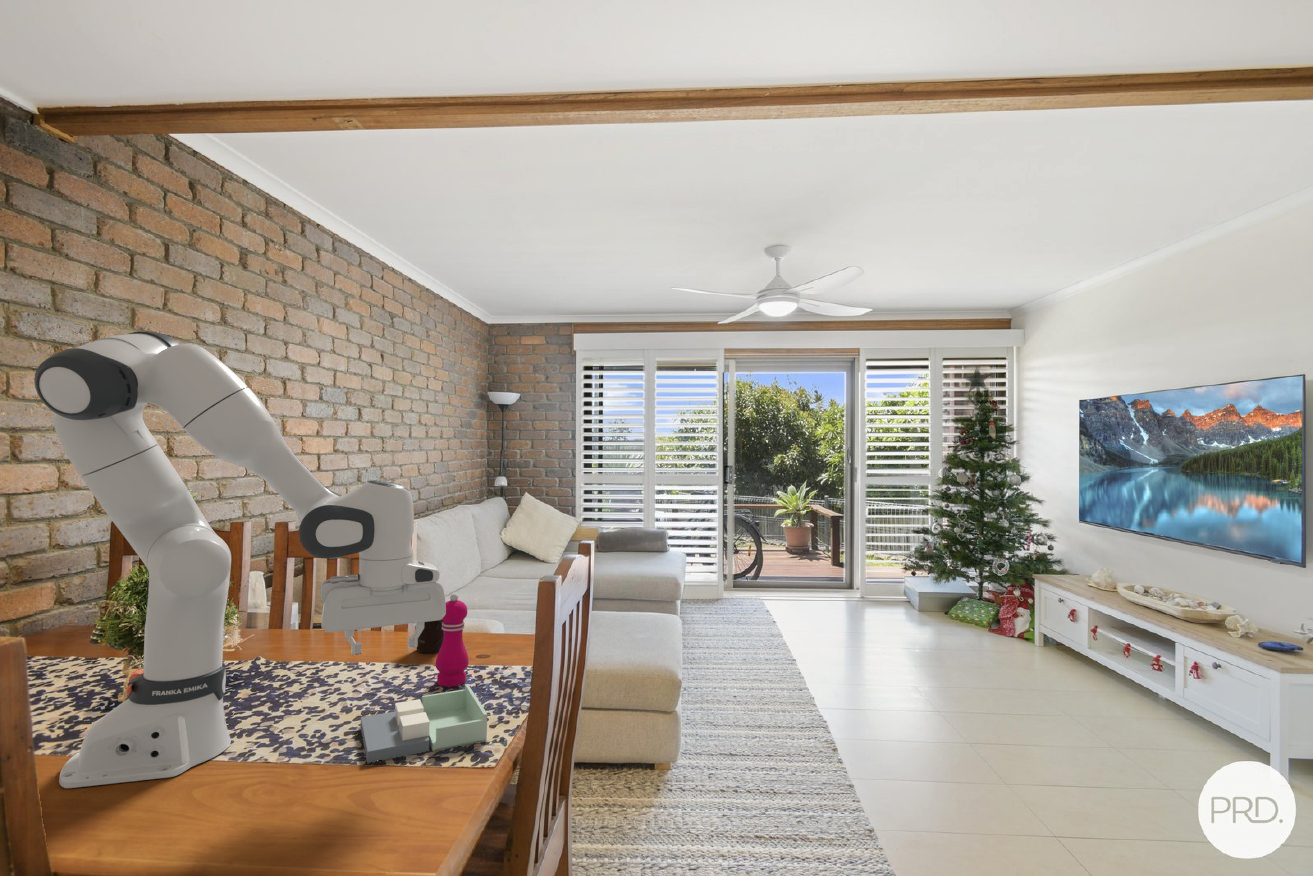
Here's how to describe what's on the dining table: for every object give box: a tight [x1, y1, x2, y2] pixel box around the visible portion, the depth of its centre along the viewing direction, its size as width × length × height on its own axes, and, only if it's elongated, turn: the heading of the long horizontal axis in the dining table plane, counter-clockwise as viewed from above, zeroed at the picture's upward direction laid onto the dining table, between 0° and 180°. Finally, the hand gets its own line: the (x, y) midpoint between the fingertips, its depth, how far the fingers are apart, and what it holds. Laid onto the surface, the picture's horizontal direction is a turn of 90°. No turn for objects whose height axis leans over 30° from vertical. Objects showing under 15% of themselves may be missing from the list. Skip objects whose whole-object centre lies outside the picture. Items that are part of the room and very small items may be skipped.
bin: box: [421, 683, 488, 753], centre depth 123 cm, size 10×16×5 cm, turn 29°
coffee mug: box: [413, 619, 444, 655], centre depth 166 cm, size 12×9×10 cm
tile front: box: [399, 712, 430, 741], centre depth 116 cm, size 4×4×2 cm
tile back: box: [394, 698, 424, 726], centre depth 122 cm, size 4×4×2 cm
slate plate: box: [360, 711, 430, 764], centre depth 118 cm, size 10×15×2 cm, turn 29°
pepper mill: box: [434, 593, 470, 688], centre depth 146 cm, size 7×7×20 cm
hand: (384, 650), depth 114 cm, fingers open, 8 cm apart
